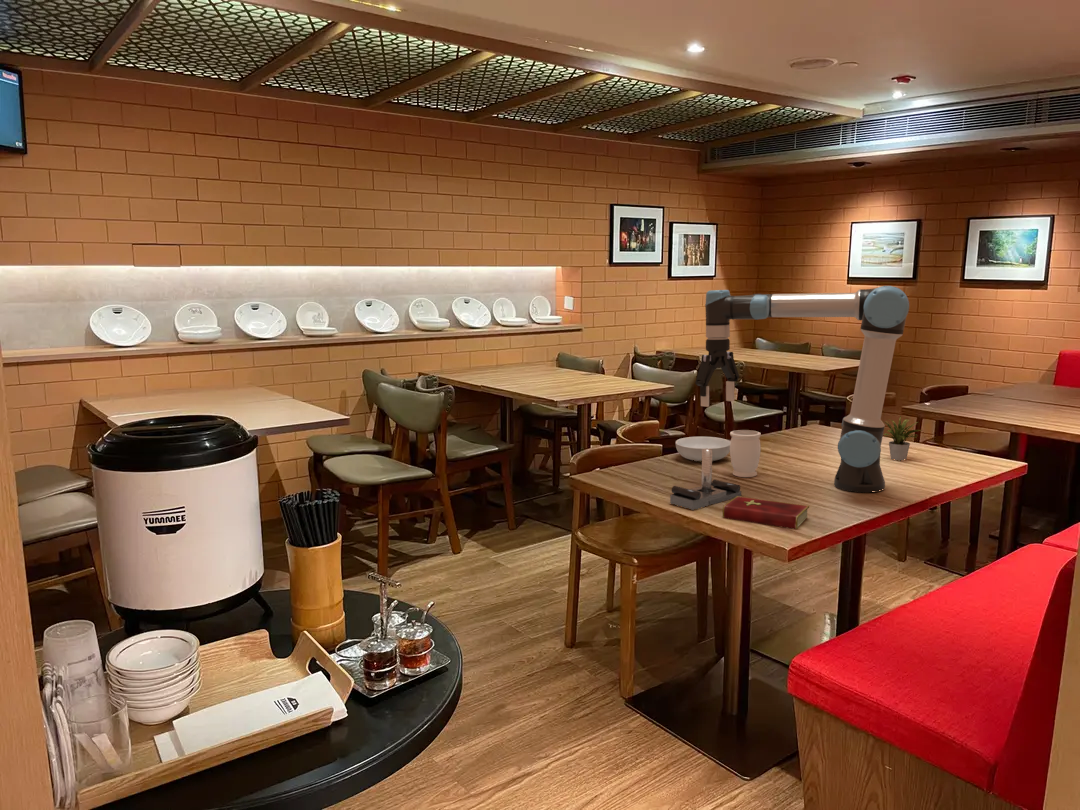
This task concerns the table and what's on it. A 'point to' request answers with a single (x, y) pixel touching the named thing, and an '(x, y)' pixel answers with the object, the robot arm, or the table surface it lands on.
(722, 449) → the serving bowl
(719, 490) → the plate with two rollers
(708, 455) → the link pin
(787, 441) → the table surface
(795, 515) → the hardcover book
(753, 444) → the jar
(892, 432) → the house plant
